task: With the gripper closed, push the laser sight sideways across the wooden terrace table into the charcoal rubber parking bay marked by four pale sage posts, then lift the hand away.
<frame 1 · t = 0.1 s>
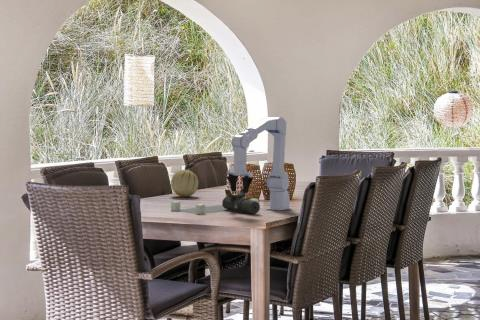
hand: (239, 192, 368), 10 cm above the table, tool pointing down, fingers open, 7 cm apart
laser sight: (239, 212, 379), on the table, touching bay
bay: (215, 208, 389), on the table
cantaloupe: (184, 197, 441), on the table
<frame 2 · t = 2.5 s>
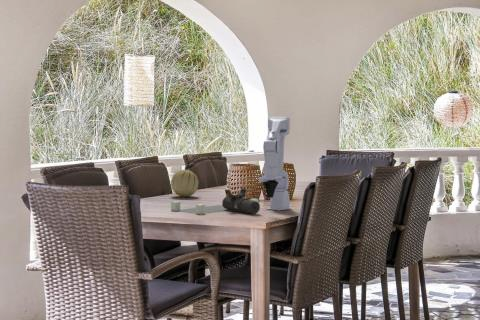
hand: (270, 197, 366), 8 cm above the table, tool pointing down, fingers closed
nothing on the table moved.
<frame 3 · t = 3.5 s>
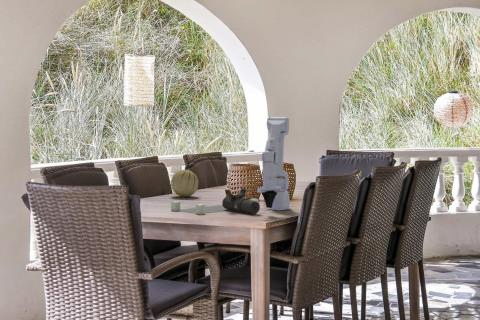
hand: (269, 207, 367), 3 cm above the table, tool pointing down, fingers closed
nothing on the table moved.
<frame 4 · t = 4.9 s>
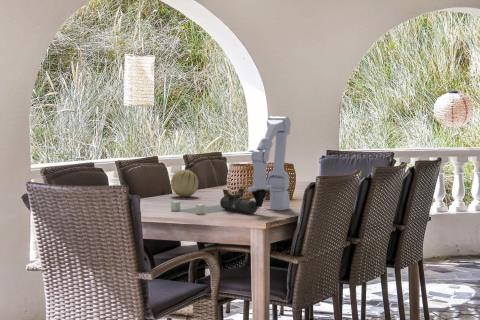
hand: (259, 206, 371), 3 cm above the table, tool pointing down, fingers closed
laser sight: (237, 211, 379), on the table, touching bay, gripper
everything else where it was.
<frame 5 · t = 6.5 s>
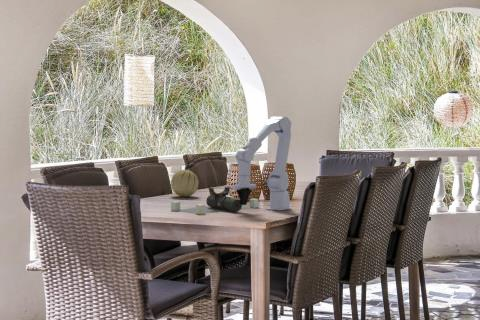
hand: (243, 204, 377), 3 cm above the table, tool pointing down, fingers closed
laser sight: (223, 210, 386), on the table, touching bay, gripper
everything else where it was.
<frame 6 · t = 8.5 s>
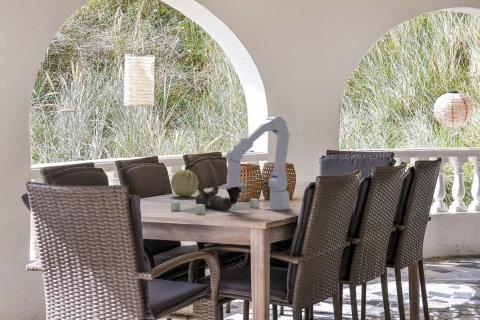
hand: (233, 203, 381), 3 cm above the table, tool pointing down, fingers closed
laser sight: (212, 208, 390), on the table, touching bay, gripper
everything else where it was.
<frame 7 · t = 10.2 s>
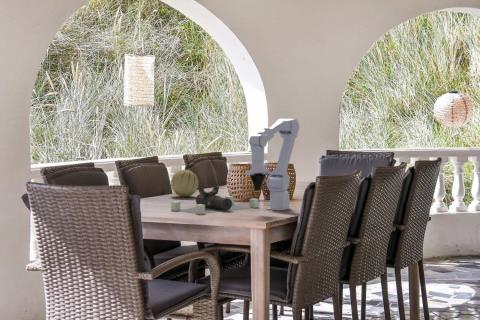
hand: (257, 190, 375), 10 cm above the table, tool pointing down, fingers closed
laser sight: (212, 208, 390), on the table, touching bay
everything else where it was.
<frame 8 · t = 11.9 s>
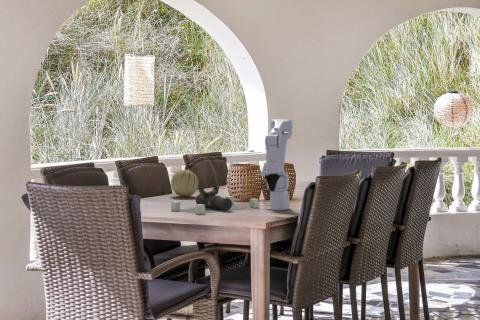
hand: (272, 190, 373), 10 cm above the table, tool pointing down, fingers closed
nothing on the table moved.
at the end: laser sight inside the target area (3.9 cm from its centre), on the table; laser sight moved 16.9 cm from its start; the gripper is holding nothing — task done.
